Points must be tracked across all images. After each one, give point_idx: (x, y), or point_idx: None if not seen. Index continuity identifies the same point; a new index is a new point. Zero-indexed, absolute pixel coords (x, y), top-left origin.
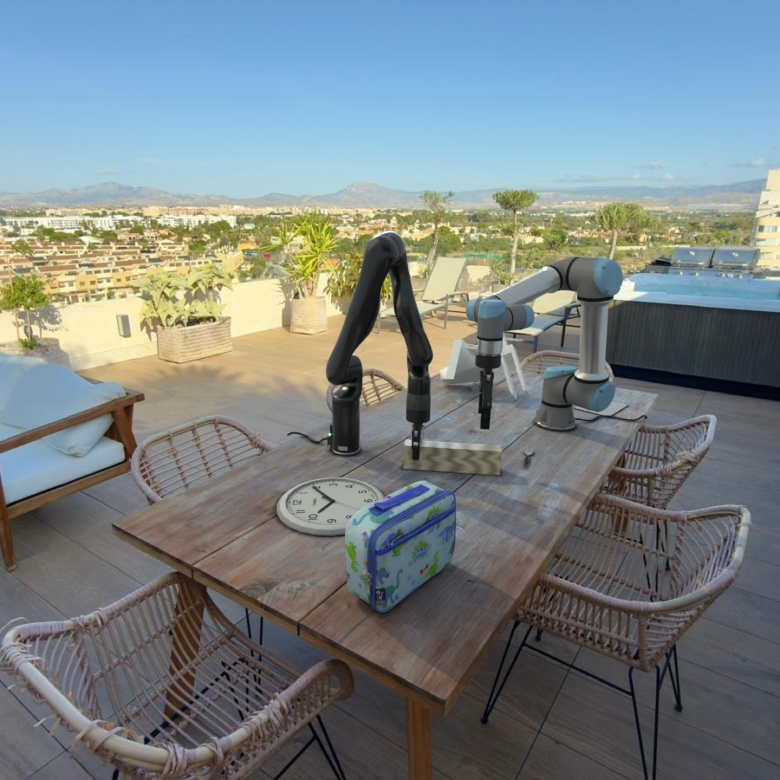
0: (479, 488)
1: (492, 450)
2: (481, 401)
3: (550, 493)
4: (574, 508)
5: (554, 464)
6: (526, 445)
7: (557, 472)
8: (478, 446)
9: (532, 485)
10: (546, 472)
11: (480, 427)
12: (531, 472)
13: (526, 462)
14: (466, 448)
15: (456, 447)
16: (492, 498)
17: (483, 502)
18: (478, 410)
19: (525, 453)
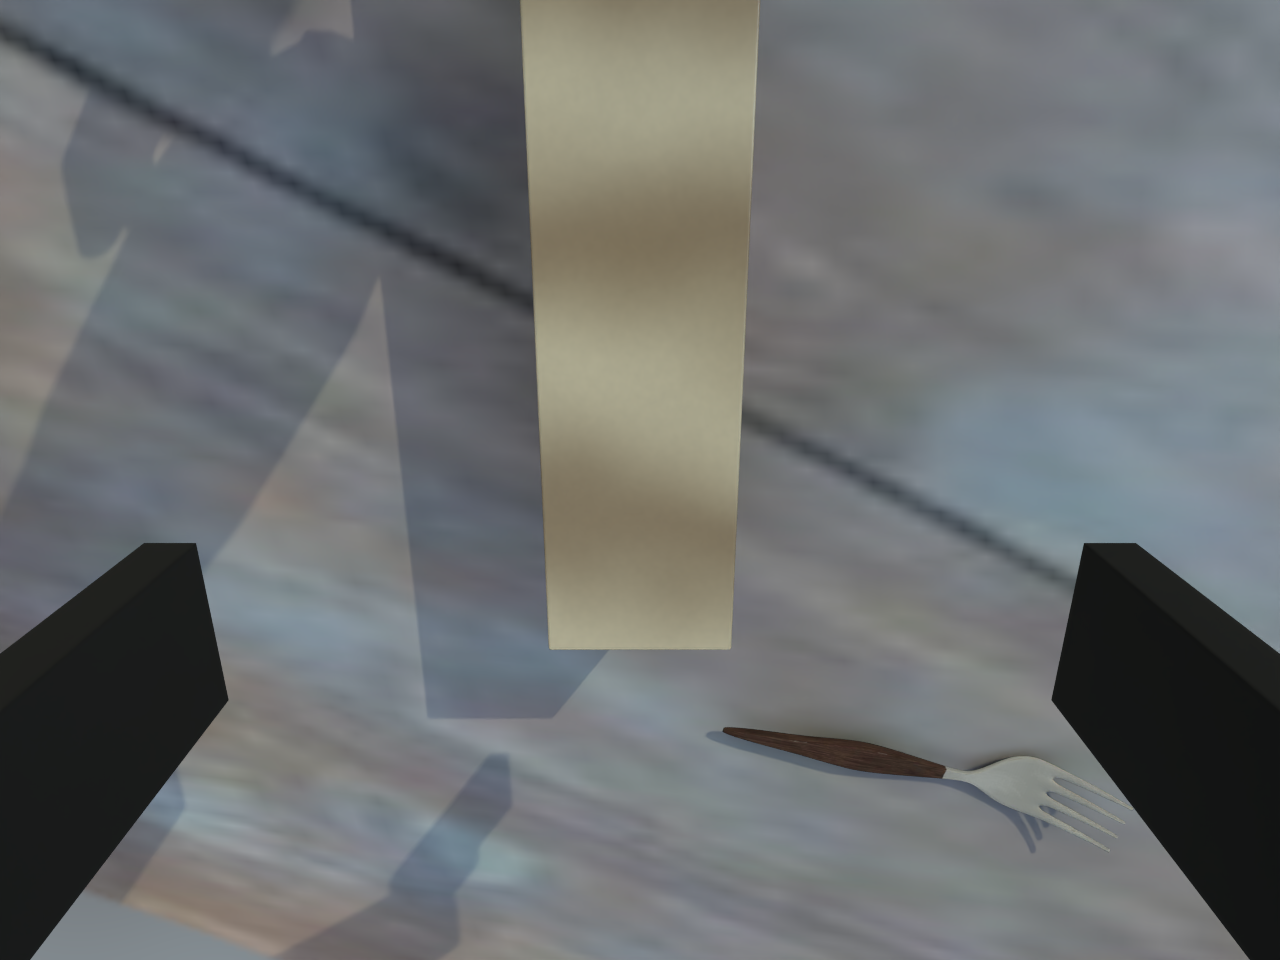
0: (282, 350)
1: (560, 559)
2: (1269, 779)
3: (356, 827)
4: (195, 918)
5: (828, 911)
6: (1113, 799)
7: (695, 909)
8: (655, 406)
9: (448, 739)
10: (684, 848)
11: (124, 564)
12: (668, 757)
13: (801, 753)
14: (563, 247)
15: (572, 100)
16: (140, 446)
17: (45, 372)
18: (1123, 577)
19: (1006, 761)
